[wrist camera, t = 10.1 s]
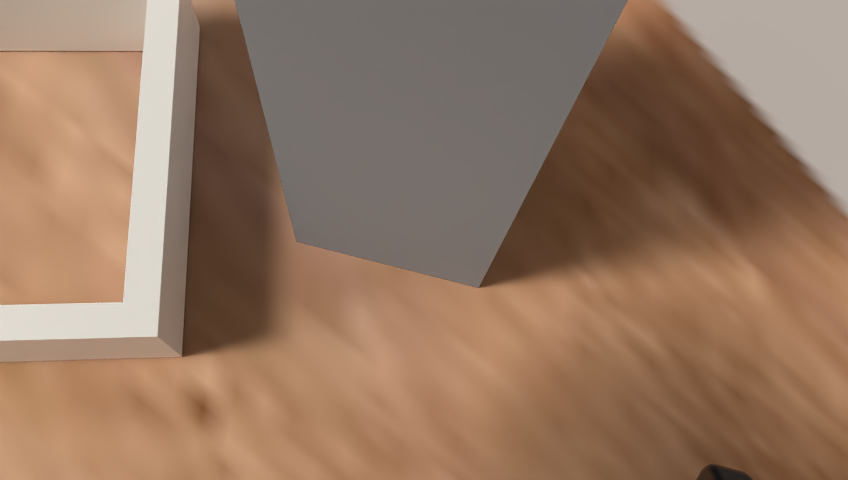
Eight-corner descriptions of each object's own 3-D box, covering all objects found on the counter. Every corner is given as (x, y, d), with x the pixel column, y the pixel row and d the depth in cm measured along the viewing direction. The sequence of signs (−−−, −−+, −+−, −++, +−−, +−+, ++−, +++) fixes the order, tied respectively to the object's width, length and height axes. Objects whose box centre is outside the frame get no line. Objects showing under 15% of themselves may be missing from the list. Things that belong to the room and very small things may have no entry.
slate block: (478, 288, 21) (637, -19, 9) (296, 241, 21) (201, -128, 9) (515, 124, 23) (693, -327, 10) (346, 81, 23) (325, -416, 11)
